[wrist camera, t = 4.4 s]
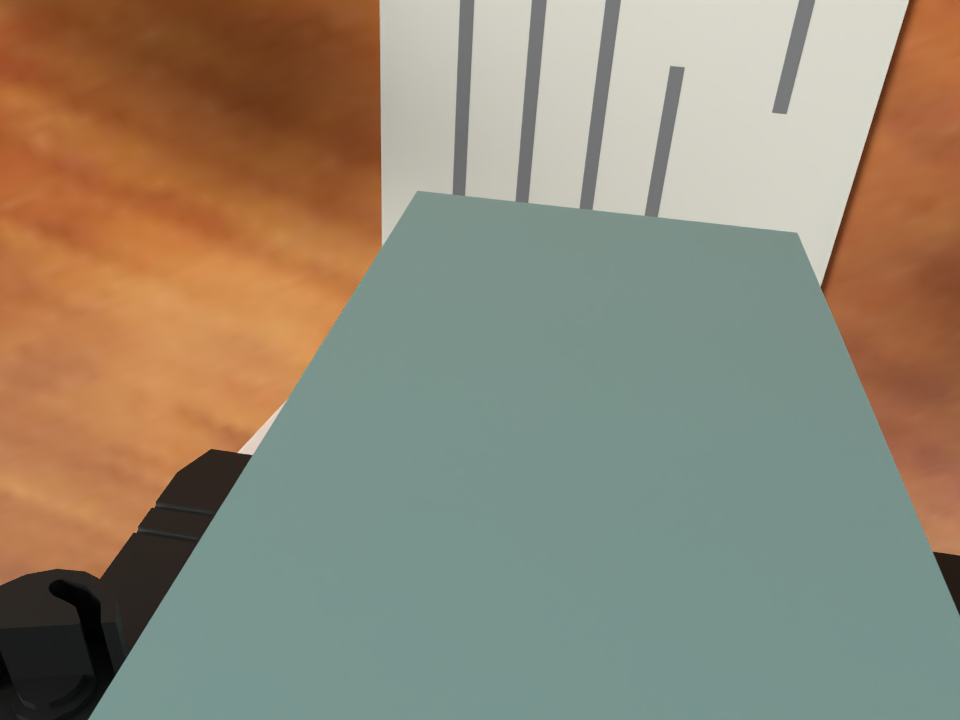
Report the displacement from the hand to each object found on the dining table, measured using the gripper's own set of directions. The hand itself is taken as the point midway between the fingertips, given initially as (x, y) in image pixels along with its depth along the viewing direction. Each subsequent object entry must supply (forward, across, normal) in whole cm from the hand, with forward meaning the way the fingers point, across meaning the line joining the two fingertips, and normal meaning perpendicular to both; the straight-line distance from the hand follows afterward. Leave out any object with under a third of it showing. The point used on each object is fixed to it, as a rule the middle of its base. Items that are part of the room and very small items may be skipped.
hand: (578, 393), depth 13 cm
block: (+1, 0, 0) cm, 1 cm away
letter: (+14, 0, 0) cm, 14 cm away
